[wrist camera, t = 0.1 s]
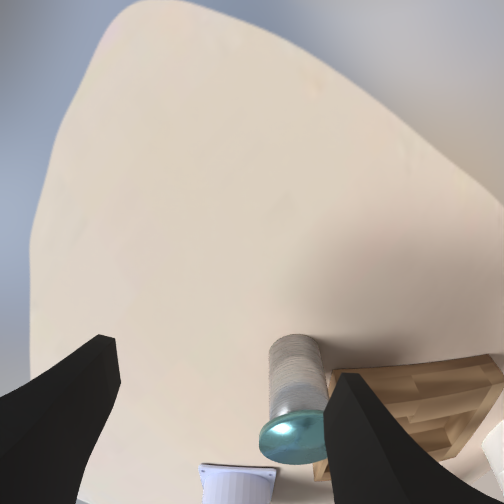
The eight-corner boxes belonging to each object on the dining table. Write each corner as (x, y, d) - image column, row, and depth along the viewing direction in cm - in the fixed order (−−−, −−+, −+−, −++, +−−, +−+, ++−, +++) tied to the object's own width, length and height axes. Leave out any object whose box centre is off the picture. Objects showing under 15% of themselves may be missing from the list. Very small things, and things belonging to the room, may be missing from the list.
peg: (322, 377, 22) (337, 462, 15) (259, 377, 22) (257, 464, 15) (332, 327, 20) (357, 416, 13) (262, 326, 20) (260, 419, 13)
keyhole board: (444, 431, 26) (455, 457, 22) (311, 449, 26) (314, 481, 22) (488, 354, 22) (508, 381, 18) (332, 369, 22) (341, 408, 18)
